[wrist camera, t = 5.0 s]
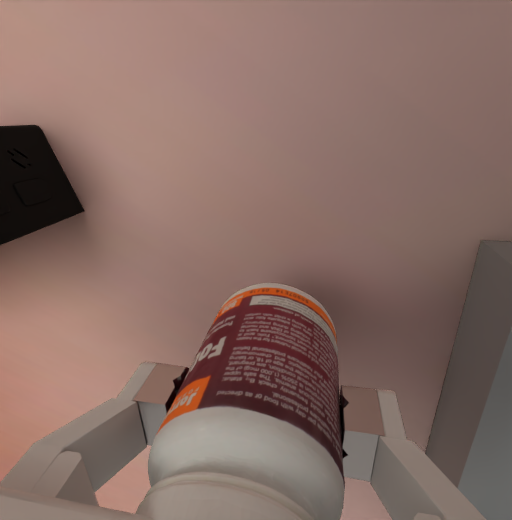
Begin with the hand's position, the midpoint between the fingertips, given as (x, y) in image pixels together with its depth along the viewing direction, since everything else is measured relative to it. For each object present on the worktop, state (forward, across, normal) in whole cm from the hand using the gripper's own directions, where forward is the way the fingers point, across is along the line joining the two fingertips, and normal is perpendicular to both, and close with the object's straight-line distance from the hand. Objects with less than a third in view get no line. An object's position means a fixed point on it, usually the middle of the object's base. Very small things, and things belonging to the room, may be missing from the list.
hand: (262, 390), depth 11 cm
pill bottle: (+3, 0, 0) cm, 3 cm away
